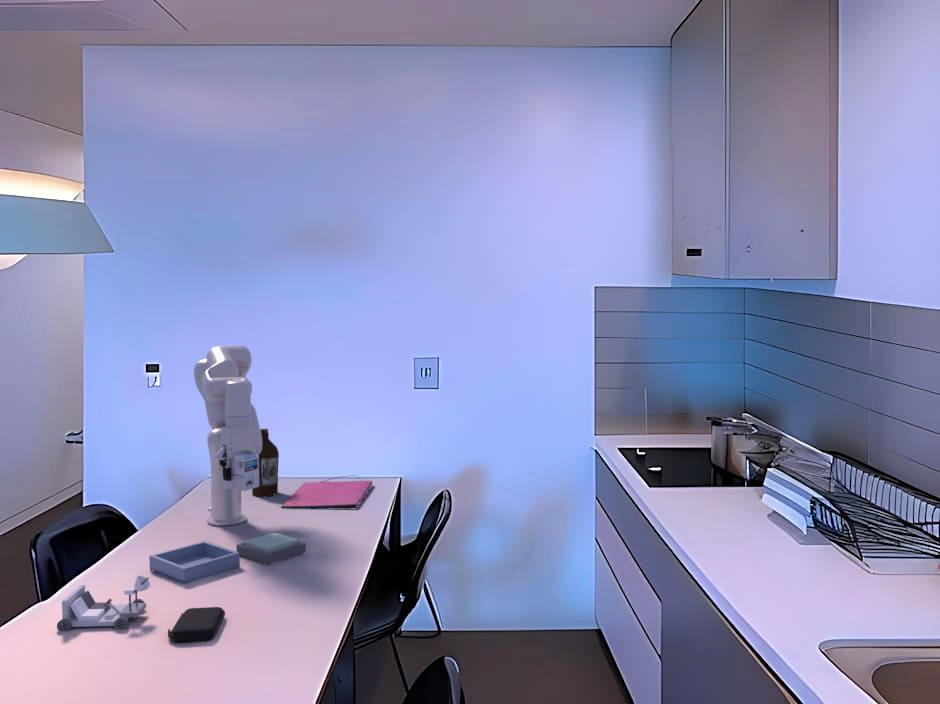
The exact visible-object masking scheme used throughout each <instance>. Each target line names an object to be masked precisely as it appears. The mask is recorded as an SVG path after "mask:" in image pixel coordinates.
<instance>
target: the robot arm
mask: <svg viewBox="0 0 940 704" xmlns="http://www.w3.org/2000/svg"><path fill="white" fill-rule="evenodd" d="M205 357H206V358H205V359H201V360H199V361H197V362H196V363H195V364H194V368H193V377H194V382H195V386H196V388H197V390H198V392H199V394H200V395H201V397H202V399H203V401H204V405H205V411H206V416H207V417H206V418H207V422H208V424H209V427H210V428H211V429H212V430H210V432H209V433H208V434H207V437H206V439H207V440H206V442H207V448H208V454H209V461H210V486H211V488H210V489H211V506H209V507H208V508H207V511H208V512H210V516H208V517H207V518H206V523H207V524H208V525H211V526H217V527H218V526H222V527H223V526H224V527H225V526H234V525H239V524H241V523H243V522H245V521H246V520H247V515H246V514H244V513H242V491H241V490H235V489H228V488H222V487H219V464H220V465H221V467H223V479H224V480H227V481H231V468H229V466H230V464H231V462H232V460H233V459H234V457H235V455H239V454H245V453H251V452H255V453H259V454H260V453H261V451H262V435H261V431H260V429H261V427H260V422H259V417H258V415H257V411H256V408H255V406H254V404H252V403H251V402H252V401H251V399H252V398H251V397H252V394H253V385H252V384H253V383H252V382H251V381H250V380H249V379H248V378H247V374H248V373H249V371H250V369H251V366H252V361H253V360H252V353H251V351H250V349H249V348H248V347H246V346H244V345H218V346H214V347H212V348H210V349H209V351H208V352H207V353H206V356H205ZM223 454H226V455H227V457H226V455H225V457H224V459H223V460H222V458H223V456H222V455H223ZM221 457H222V458H221ZM227 460H228V461H227Z"/></svg>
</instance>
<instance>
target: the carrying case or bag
mask: <svg viewBox="0 0 940 704" xmlns="http://www.w3.org/2000/svg"><path fill="white" fill-rule="evenodd" d="M225 616H226V611H225V610H224V609H223V608H222V607H220V606H210V607H207V606H206V607H191V608H187V609H186V610H185V611H184V612H182V613H181V614H180V616H179V618H178V620H177V621H176V623H175V625H174V626H173V627H172V629H170V628H168V630H167V637H168V638H169V639H171V640H172V641H173V642H174V643H177V644H179V643H181V644H183V643H200V642H201V643H202V642H210V641H212V640H214V638H215V637H216V635H217V633H218V631H219V629H220V627H221V625H222V622H223V620H224V619H225Z"/></svg>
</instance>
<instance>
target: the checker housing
mask: <svg viewBox="0 0 940 704" xmlns="http://www.w3.org/2000/svg"><path fill="white" fill-rule="evenodd" d="M298 543H299V544H295V545H292V546H289V547H285V548H282V549H279V550H275V551H272V552H269V553H266V552H262V551H259V550H256V549H253V548H250V547H247V546H244V542H242V543H237V544H235V545H236V546H235V547H236V548H235V549H236V552H239V553H240V557H241V556H242V557H241V558H245V559H247V558H248V559H247V560H250V561H253V562H257V563H259V564H262V565H265V566H268V565H271V563H272V564H275V563H278V562H281V561H284V560H287V559H290V558H289V557H291V558H294V557H297V556H300V555H303V554H306V553H307V543H306V542H305V541H302V540H299V539H298ZM305 552H306V553H305ZM299 554H300V555H299ZM296 555H297V556H296ZM293 556H294V557H293ZM280 560H281V561H280ZM277 561H278V562H277ZM274 562H275V563H274Z"/></svg>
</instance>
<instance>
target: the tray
mask: <svg viewBox="0 0 940 704" xmlns="http://www.w3.org/2000/svg"><path fill="white" fill-rule="evenodd" d="M240 557H241V556H240V553H239V552H237V550H236V551H235V550H232V549H231V548H227V547H224V546H220V545H218V544H215V543H211V542H209V541H205V540H203V541H200V542H195V543H192V544H188V545H185V546H181V547H177V548H174V549H170V550H166V551H163V552H158V553H155V554H151V555H149V560H148V561H149V570H150V569H151V570H153V571H155V572H154V573H156V572H157V573H156V574H158V573H160V574H159V575H161V574H162V575H161V576H163V575H164V576H163V577H165V576H166V578H168V579H171V580H173V581H175V582H178V583H181V584H183V585H185V584H189V583H192V582H195V581H199V580H201V579H206V578H208V577H211V576H215V575H218V574H221V573H224V572H229V571H232V570H234V569H237V568H240V567H241V565H240V564H241V559H240ZM151 570H150V571H151ZM153 571H152V572H153Z"/></svg>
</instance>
